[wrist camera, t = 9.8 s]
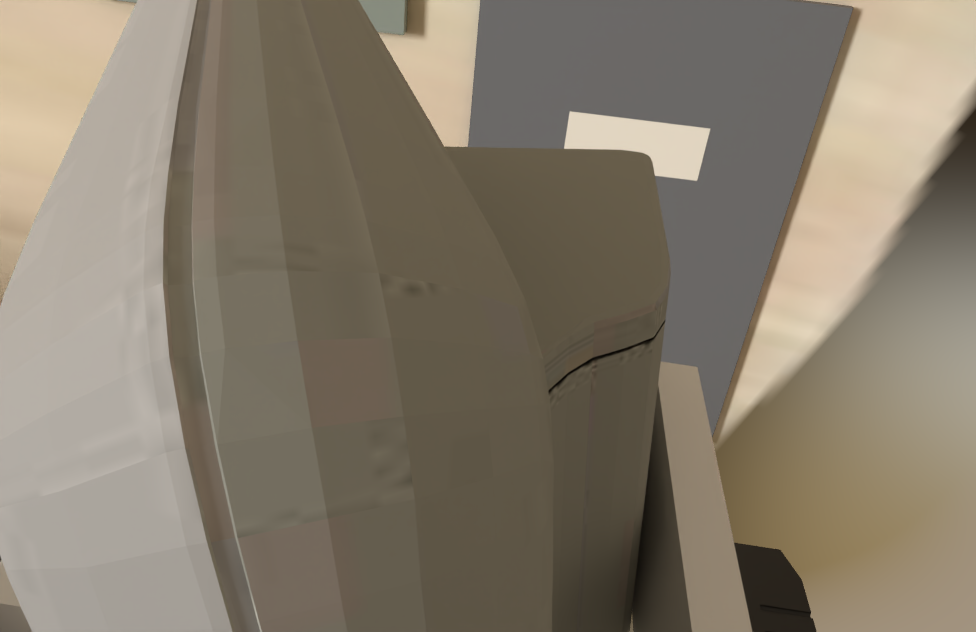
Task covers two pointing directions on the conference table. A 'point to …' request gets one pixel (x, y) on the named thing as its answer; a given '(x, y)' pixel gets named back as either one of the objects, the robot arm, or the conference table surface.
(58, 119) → the conference table surface
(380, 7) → the side mat
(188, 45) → the digital clock
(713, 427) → the gray plate
